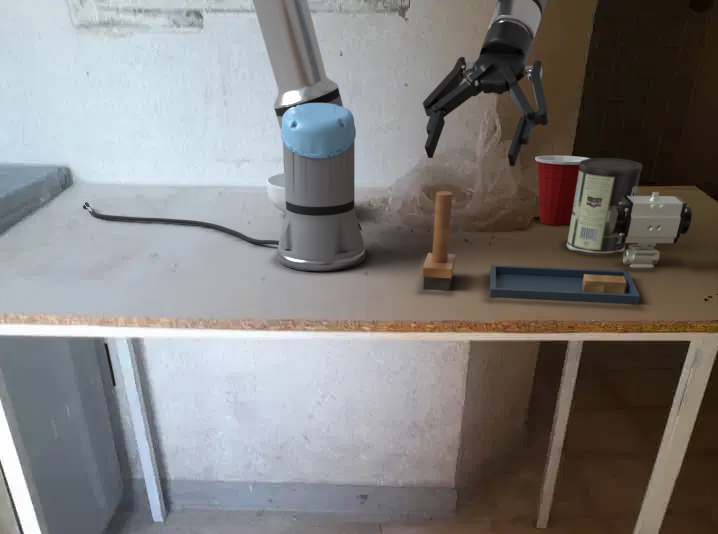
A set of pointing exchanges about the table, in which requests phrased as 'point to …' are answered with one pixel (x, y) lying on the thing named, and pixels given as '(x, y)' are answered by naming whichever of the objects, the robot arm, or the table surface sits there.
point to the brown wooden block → (593, 283)
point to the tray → (555, 284)
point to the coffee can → (600, 202)
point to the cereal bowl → (277, 191)
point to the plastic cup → (557, 187)
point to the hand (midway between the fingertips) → (468, 156)
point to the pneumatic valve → (648, 225)
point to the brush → (440, 247)
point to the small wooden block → (614, 284)
